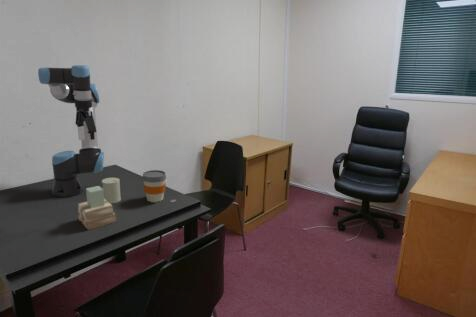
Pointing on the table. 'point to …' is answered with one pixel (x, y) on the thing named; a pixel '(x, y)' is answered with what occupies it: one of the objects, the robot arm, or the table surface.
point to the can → (111, 189)
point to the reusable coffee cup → (154, 185)
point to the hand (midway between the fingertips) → (87, 142)
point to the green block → (95, 196)
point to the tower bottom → (97, 221)
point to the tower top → (95, 210)
